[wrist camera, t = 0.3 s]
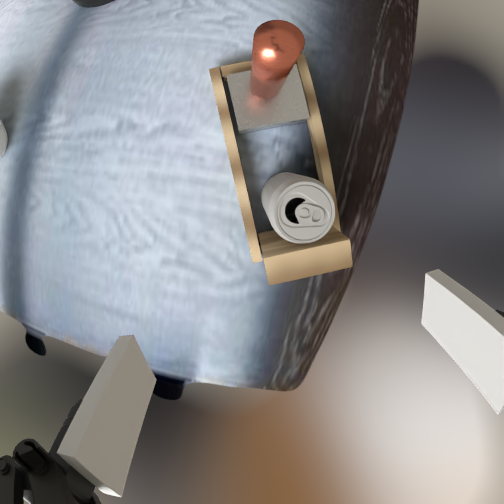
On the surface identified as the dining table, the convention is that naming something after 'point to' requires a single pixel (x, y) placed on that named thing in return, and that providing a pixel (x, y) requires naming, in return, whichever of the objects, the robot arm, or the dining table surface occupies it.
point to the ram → (270, 80)
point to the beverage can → (298, 207)
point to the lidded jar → (3, 139)
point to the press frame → (333, 242)
